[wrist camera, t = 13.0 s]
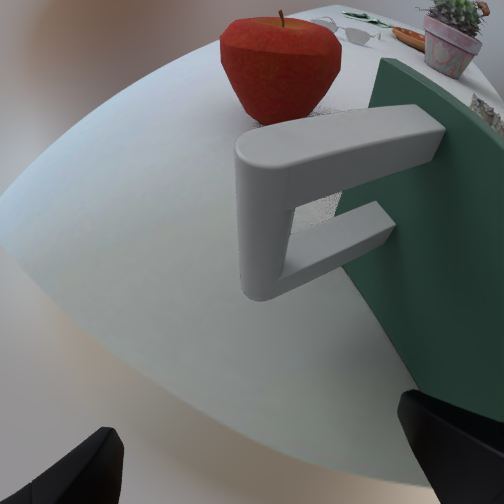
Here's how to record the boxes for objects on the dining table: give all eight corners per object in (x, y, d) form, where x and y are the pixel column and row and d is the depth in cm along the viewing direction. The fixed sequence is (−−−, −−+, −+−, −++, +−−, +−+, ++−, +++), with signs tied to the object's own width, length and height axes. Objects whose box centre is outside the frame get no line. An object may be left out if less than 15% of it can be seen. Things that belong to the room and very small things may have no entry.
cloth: (399, 29, 76) (400, 24, 74) (374, 26, 69) (375, 21, 67) (359, 14, 85) (359, 10, 83) (329, 12, 77) (329, 7, 75)
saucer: (377, 32, 62) (379, 23, 59) (410, 37, 69) (412, 29, 66) (440, 63, 52) (443, 53, 49) (463, 65, 59) (466, 57, 56)
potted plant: (396, 46, 54) (411, -29, 33) (456, 70, 52) (476, 1, 31) (413, 66, 45) (434, -27, 24) (481, 96, 43) (509, 15, 22)
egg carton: (503, 151, 29) (513, 133, 26) (466, 126, 31) (476, 106, 28) (497, 128, 34) (506, 111, 30) (466, 106, 36) (473, 89, 33)
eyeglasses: (308, 31, 52) (309, 17, 49) (331, 24, 60) (332, 13, 57) (371, 48, 48) (373, 34, 45) (382, 40, 56) (385, 28, 53)
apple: (294, 167, 23) (312, 27, 13) (200, 126, 27) (188, 13, 16) (344, 119, 28) (364, 20, 18) (263, 89, 31) (266, 0, 21)
